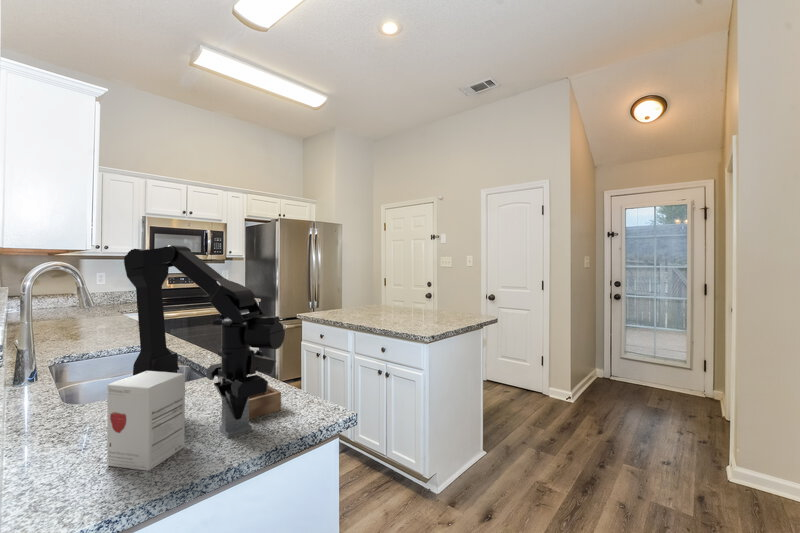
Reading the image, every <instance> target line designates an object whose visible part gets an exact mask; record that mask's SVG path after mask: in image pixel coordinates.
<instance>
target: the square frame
mask: <svg viewBox="0 0 800 533" xmlns="http://www.w3.org/2000/svg"><path fill="white" fill-rule="evenodd" d="M281 404H282V391H280V390H278V389H275V388H274V387H272V386H270V385H268V391H267V392H263V393H260V394H256V395H252V396H249V421H250V420H253V419H256V418H258V417H259V416H260V417H262V415H263V416H266V415H269V413H270V414H272V412H273V413H276V412H279V410H280V411H281V410H282V405H281Z"/></svg>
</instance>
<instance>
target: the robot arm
mask: <svg viewBox="0 0 800 533" xmlns="http://www.w3.org/2000/svg"><path fill="white" fill-rule="evenodd" d="M123 264H124V269H125V274H126V278H127V279H128V280H129V282H130V283H131V284H132V285H133V287H134V288H135V292H136V304H137V316H138V317H137V320H138V331H139V332H138V334H139V343H140V344H139V345H140V352H139V354H138V356H137V358H136V359H135V361H134V363H133V367H132V376H134V375H137V374H139V373H142V372H145V371H157V372H170V373H178V371H179V370H180V367H179V364H178V363H179V362H178V360H179V359H178V358H179V356H178V353H177V352H175V353H174V352H173V353H172V352H171V350H170V349H169V348H168V347H167V337H166V326H165V325H166V324H165V313H164V311H165V310H164V299H163V285H164V283H165V282H166V280H167V277H168V276H169V268H172V267H174V268H175V269H177V271H179V272H181V273H182V274H183V275H184V276H185V277H186V278H188V279H189V280H191V281H192V282H193V283H194V284H195V285H196V286H198V287H199V288H200V289H202V290H203V291H204V292H205V293H206V294H207V295H208V299H209V303H210V304H211V306H212V307H214V309H215V310H216V311H217V312H218V313H219V316H218V317H217V318H216V319H215V320H214V321H212V326H221V327H220V328H221V334H220V335H221V336H220V337H221V340H220V341H221V344H220V345H221V348H220V350H218V351H217V356H218V357H220V359H221V362H220V363H214V364H210V365H209V366H208V367H207V369H206V378H207V379H208V380H209V381H212V380H214V379H215V377H217V382H215V383H213V385H214V387H215V389H216V390H217V393H218V394H219V396H220V398H221V399H222V395H226V396H227V398H228V401H229V404H230V406H231V409H232V412H233V414H234V417H235V419H236V420H238V419H241V417H242V414H243V411H244V408H245V405H246V402H247V399H248V397H249V396H252V395H256V394H260V393H263V392H267V391H268V386H269V382H268V380H266V379H265V378H264V377H262V376H261V375H258V374H257V372H260V373H265V374H267V375H272V374H273V372H274V369H275V364H276V363H277V360H275V359H273V358H271V357H267V356H265V355H264V352H263V351H262V350H258V349H271V350H272V349H273V350H278V349H280V348H281V346H282V345H283V343H284V341H285V336H286V335H285V334H286V330H285V329H284V325H283V323H281V322H280V316H275V315H272V316H266V314H265V312H264V311H263V309H262V308H261V307H260V304H259V303H258V302H257V301H256V300H257V299H255V296H256V295H255V294H254V292H253V291H252V290H251V288H248V287H246V286H244V285H242V284H240V283H238V282H236V281H235V282H234V281H232V280H229V279H227V278H225V277H223V275H221V274H220V273H219V272H217V271H216V270H215V269H214V268H212V266H210V265H208V264H207V263H206V262H205V261H204V260H202V258H200V257H198V256H197V255H196V254H195V253H194V252H192V250H191V249H190V247H187V246H185V245H174V244H171V245H167V246H163V247H157V248H132V249H131V250H129V251H128V252H127V254H126V255H125V254H124V258H123ZM251 348H258V349H251Z"/></svg>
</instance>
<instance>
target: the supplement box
mask: <svg viewBox="0 0 800 533" xmlns="http://www.w3.org/2000/svg"><path fill="white" fill-rule="evenodd" d="M106 389H107V390H106V391H107V393H106V394H107V398H106V399H107V400H106V402H107V403H106V404H107V429H106V430H107V434H106V435H107V436H106V437H107V439H106V440H107V441H106V442H107V443H106V445H107V449H106V450H107V452H106V453H107V454H106V456H107V464H106V465H107V467H109V466H110V467H115V468H117V467H118V468H125V469H132V470H138V471H139V470H140V471H148V472H149V471H151V470H152V469H155V467H156V466H159V465H160V464H162V463H163V462H165V460H167V459H169V458H170V457H172V456H173V455H175V454H177V452H179V451H180V450H182V449H184V448H185V422H186V421H185V420H186V418H185V413H186V412H185V411H186V410H185V408H186V374H185V373H180V372H177V373H170V372H157V371H145V372H142V373H139V374H137V375H134V376H133V375H132V376H128V377H125V378H122V379H118V380H116V381H112V382H111V383H108V384H107V388H106Z"/></svg>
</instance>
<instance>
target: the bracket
mask: <svg viewBox="0 0 800 533" xmlns="http://www.w3.org/2000/svg"><path fill="white" fill-rule="evenodd" d="M218 428H219V429H218V430H219V432H220V433H221V434H222V435H224V436H225V438H226V439H228V440H229V439H232V438H235V437H239V436H241V435H244V434H247V433H250V432H252V431H253V426H252V425H251V424H250V420H249V397H248V399H247V402H246V405H245V408H244V411H243V414H242V417H241V419H238V420H236V419H235V417H234V414H233V412H232V409H231V406H230V404H229V401H228V398H227V396H226V395H222V398H221V424H220V425H219V427H218Z"/></svg>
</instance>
